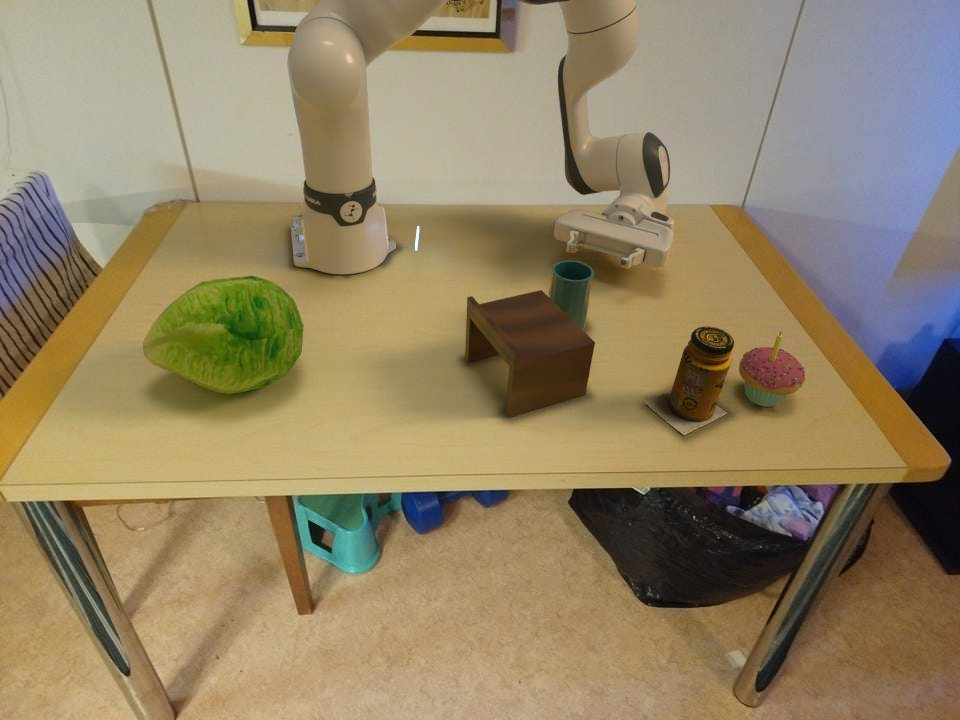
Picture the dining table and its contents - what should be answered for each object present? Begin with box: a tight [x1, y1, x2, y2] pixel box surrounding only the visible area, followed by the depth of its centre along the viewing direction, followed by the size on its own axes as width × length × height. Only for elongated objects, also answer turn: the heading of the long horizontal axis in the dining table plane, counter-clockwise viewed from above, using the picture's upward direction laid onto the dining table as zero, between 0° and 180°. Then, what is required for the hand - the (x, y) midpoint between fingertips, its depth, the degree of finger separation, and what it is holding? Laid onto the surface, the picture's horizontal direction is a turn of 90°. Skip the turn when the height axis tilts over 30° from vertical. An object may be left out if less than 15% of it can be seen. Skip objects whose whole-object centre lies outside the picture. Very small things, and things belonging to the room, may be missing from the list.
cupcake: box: [738, 330, 806, 408], centre depth 89 cm, size 9×8×12 cm
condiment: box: [644, 325, 735, 436], centre depth 86 cm, size 7×8×12 cm
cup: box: [548, 259, 595, 332], centre depth 101 cm, size 6×6×10 cm
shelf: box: [464, 289, 596, 418], centre depth 91 cm, size 14×12×11 cm
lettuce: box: [142, 275, 304, 395], centre depth 86 cm, size 17×20×15 cm
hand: (597, 256), depth 108 cm, fingers open, 8 cm apart
